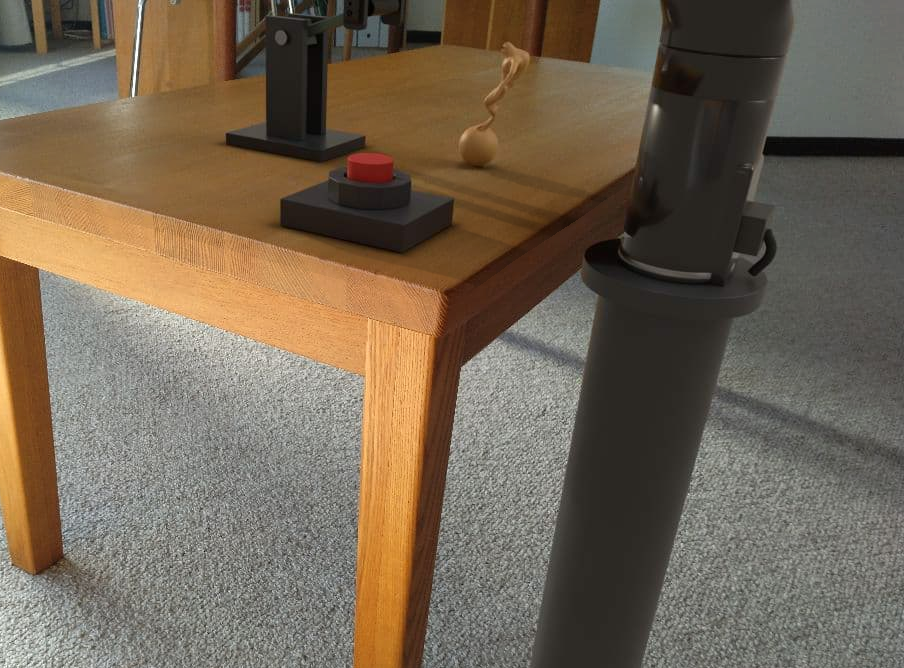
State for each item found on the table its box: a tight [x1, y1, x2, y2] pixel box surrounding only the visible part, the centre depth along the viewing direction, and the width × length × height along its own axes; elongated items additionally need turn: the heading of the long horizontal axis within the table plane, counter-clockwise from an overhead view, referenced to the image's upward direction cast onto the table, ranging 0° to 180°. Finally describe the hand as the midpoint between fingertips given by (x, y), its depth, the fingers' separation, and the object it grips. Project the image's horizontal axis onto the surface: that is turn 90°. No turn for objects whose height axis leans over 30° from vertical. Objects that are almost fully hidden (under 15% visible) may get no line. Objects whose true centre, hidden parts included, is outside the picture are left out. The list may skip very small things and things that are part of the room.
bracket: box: [225, 12, 366, 163], centre depth 93 cm, size 12×9×13 cm
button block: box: [279, 166, 455, 254], centre depth 71 cm, size 11×9×4 cm
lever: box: [307, 0, 399, 47], centre depth 88 cm, size 12×5×2 cm, turn 61°
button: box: [346, 152, 395, 183], centre depth 70 cm, size 4×4×2 cm
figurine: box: [458, 41, 531, 167], centre depth 89 cm, size 8×6×12 cm
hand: (374, 26), depth 86 cm, fingers open, 7 cm apart
